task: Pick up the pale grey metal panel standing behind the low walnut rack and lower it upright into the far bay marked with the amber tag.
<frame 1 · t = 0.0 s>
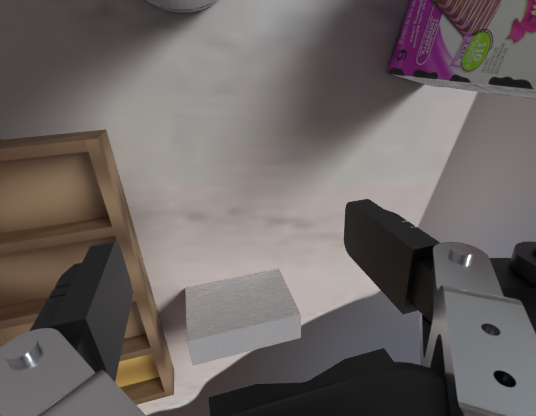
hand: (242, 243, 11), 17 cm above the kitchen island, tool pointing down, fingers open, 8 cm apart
candy bar box: (426, 12, 27), on the kitchen island
rack: (70, 289, 29), on the kitchen island
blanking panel: (234, 288, 34), on the kitchen island
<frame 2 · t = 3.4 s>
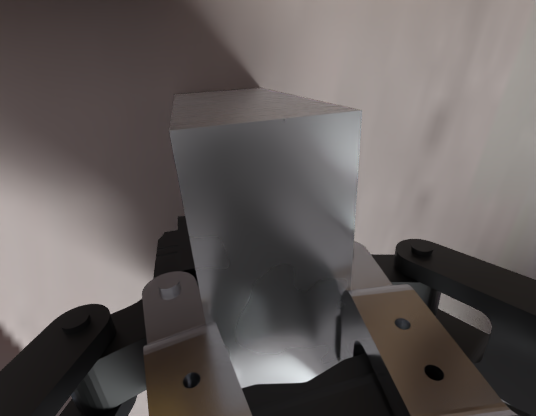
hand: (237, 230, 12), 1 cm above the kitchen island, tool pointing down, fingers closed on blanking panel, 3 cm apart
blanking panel: (233, 218, 13), on the kitchen island, touching gripper
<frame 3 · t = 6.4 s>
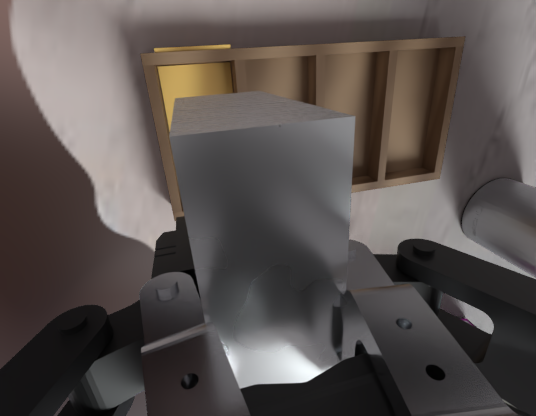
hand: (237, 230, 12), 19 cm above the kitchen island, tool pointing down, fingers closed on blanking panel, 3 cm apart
rack: (308, 123, 31), on the kitchen island
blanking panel: (233, 219, 13), point 18 cm above the kitchen island, touching gripper
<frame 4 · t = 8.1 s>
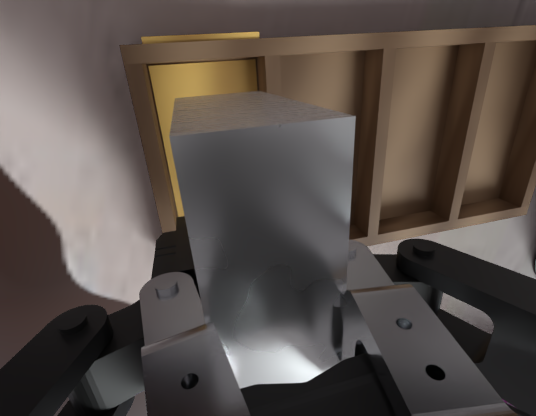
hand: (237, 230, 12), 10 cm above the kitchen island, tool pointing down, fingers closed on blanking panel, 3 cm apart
rack: (356, 143, 23), on the kitchen island
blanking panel: (233, 219, 13), point 8 cm above the kitchen island, touching gripper
when the fingers open (4 cm above the kitchen island, at t = 9.6 s): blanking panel drops 1 cm, resting on rack.
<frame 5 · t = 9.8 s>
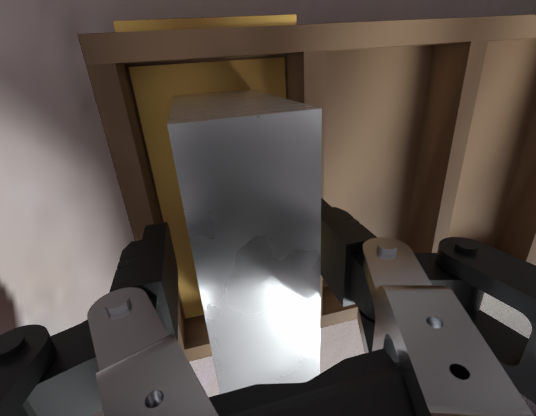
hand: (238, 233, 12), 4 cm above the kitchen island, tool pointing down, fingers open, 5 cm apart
rack: (409, 168, 17), on the kitchen island
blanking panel: (228, 208, 14), point 1 cm above the kitchen island, touching rack
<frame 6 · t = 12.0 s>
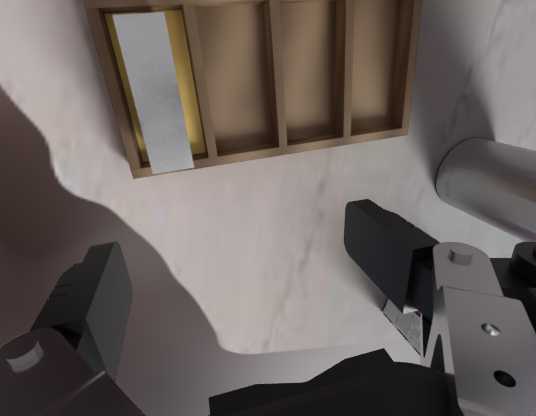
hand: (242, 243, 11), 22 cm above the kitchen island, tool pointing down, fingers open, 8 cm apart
candy bar box: (413, 297, 49), on the kitchen island
rack: (269, 78, 30), on the kitchen island
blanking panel: (160, 93, 27), point 1 cm above the kitchen island, touching rack
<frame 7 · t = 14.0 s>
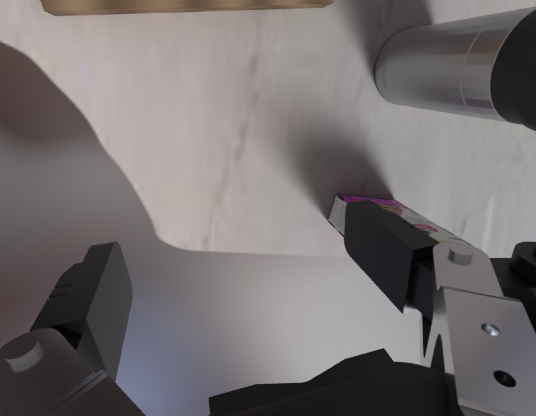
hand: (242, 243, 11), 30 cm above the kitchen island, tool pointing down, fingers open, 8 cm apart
candy bar box: (361, 209, 49), on the kitchen island
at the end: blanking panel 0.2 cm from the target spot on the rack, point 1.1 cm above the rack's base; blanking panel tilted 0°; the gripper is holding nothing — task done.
